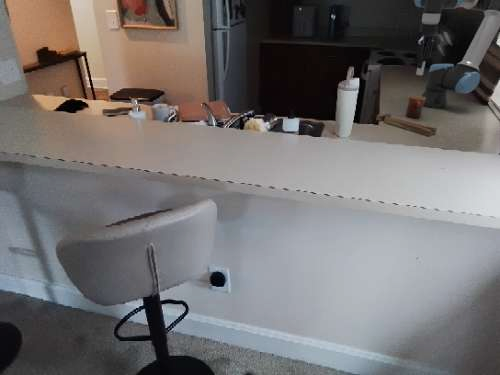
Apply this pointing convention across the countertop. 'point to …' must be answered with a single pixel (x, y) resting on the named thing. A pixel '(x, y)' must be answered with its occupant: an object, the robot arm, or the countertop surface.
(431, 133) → the tongs jaw
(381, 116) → the wooden kitchen tongs
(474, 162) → the countertop surface
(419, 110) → the mug
